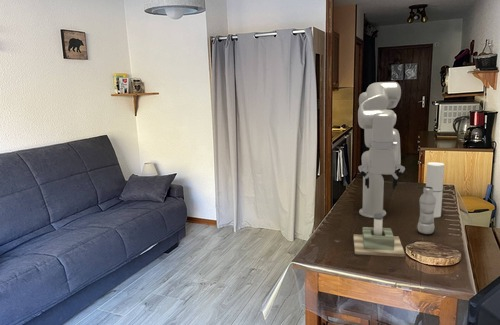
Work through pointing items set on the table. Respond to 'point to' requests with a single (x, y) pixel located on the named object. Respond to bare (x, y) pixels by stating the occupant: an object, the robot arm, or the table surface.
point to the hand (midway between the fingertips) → (380, 187)
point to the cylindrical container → (436, 183)
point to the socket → (378, 243)
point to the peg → (378, 224)
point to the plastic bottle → (427, 211)
